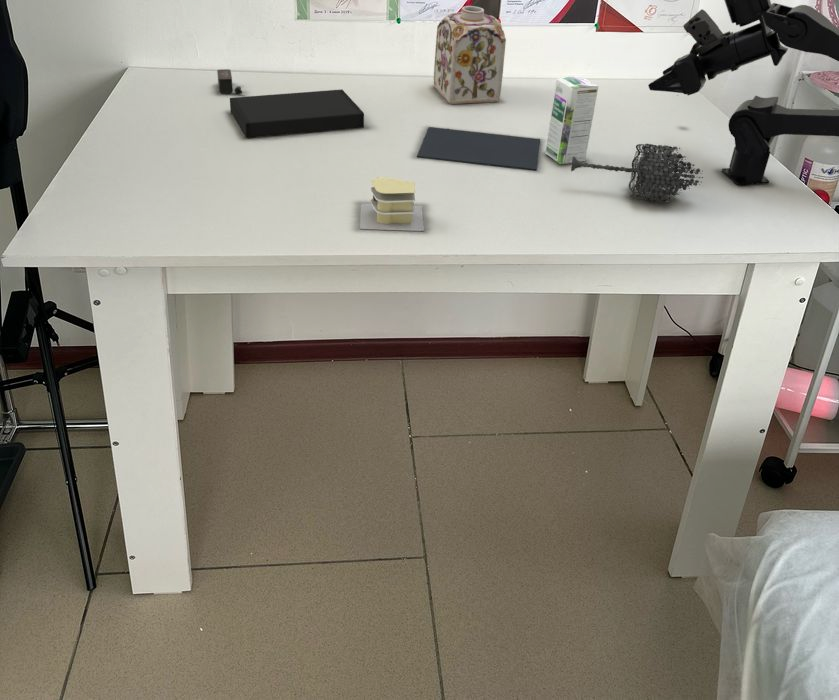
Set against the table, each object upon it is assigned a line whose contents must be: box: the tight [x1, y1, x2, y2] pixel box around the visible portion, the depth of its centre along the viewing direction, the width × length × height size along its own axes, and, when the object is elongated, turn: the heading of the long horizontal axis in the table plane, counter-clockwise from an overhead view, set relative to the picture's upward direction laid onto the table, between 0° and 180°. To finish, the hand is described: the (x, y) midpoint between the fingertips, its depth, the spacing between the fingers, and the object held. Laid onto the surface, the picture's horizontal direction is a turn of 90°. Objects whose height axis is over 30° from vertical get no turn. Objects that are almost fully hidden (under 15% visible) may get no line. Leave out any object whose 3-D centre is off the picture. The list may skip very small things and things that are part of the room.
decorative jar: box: [433, 5, 507, 105], centre depth 191 cm, size 12×12×18 cm
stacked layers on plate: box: [359, 176, 425, 232], centre depth 144 cm, size 10×9×6 cm
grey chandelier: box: [570, 143, 704, 203], centre depth 155 cm, size 9×22×9 cm, turn 81°
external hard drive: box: [229, 88, 365, 139], centre depth 177 cm, size 14×23×3 cm, turn 112°
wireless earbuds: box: [216, 68, 243, 95], centre depth 189 cm, size 5×7×3 cm, turn 13°
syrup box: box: [544, 75, 599, 165], centre depth 166 cm, size 6×6×14 cm
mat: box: [416, 126, 541, 172], centre depth 171 cm, size 22×15×1 cm
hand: (656, 80), depth 166 cm, fingers open, 9 cm apart
